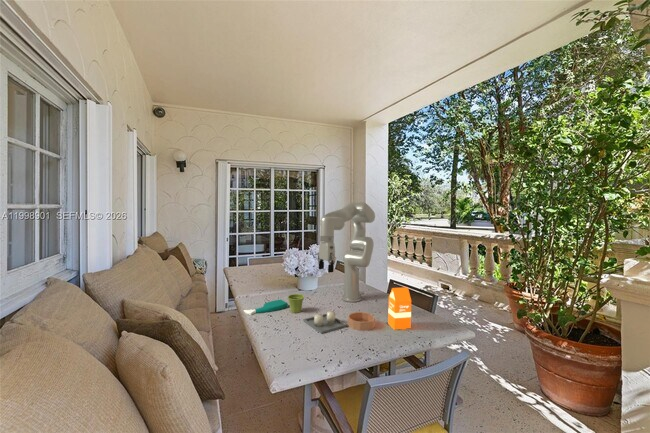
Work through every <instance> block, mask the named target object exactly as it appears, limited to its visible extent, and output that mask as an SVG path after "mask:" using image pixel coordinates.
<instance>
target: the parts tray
mask: <svg viewBox="0 0 650 433" xmlns="http://www.w3.org/2000/svg"><path fill="white" fill-rule="evenodd" d="M322 315H323V326H322V327H316V326H314V316H311V317H307V318H303V320H302V322H304V324H306V325H307V326H310V328H312V329H314V330H315V331H316V332H318V333H319V334H321V335H322V334H326V333H328V332H329V333H330V332H333V331H336V330H340V329H343V328H344V329H345V328H347V327H348V323H346V322H344V321H343V320H340V319H339V318H337V317H335V323H333V324H329V323H327V313H322Z"/></svg>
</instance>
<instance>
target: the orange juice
mask: <svg viewBox="0 0 650 433" xmlns="http://www.w3.org/2000/svg"><path fill="white" fill-rule="evenodd" d="M387 312H388V317H387V318H388V319H387V320H388V321H387V325H389V327H391V328H392V329H393V330H394V331H396V330H395V329H402V330H407V329H406V328H411V326H412V322H411V321H412V298H411V294H410V290H409V287H408V286H405V287H391V291H390V293H389V295H388V310H387Z"/></svg>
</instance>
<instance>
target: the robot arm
mask: <svg viewBox="0 0 650 433" xmlns="http://www.w3.org/2000/svg"><path fill="white" fill-rule="evenodd" d="M375 219H376V214H375V211H374V210H373V208H372V207H370V205H369V204H367V203H366V202H349V203H348V204H346V205H345V206H344V207H342V208H340V209H336V210H333V211H331V212H328V213H326V214H325V215H323V216H322V217H321V218H320V220H319V221H320V222H319V227H320V229H319V231H320V232H319V247H318V253H317V259H318V270H325V261H327V263H328V265H327V272H328V273H334V269H335V268H334V265H335V263H336V259H337V257H336V247H335V243H334V241H335V238H334V237H335V231H340V230H343V228H344V227H345V225H346V224H345V222H349V221H351V225H352V231H351V236H350V240H349V245H348V246H349V248H350V250H348V251H345V252H344V253H343V255H342V256H343V257H342V258H343V259H342V261H343V266H344V282H343V283H344V288H343V289H344V290H343V295H342V296H341V301H345V302H348V303H357V302H360V301H362V297H361V296H363V295H365V291H360V271H359V268H358V267H360V268H367V267H368V266H369V265H370V264H371V260H372V254H373V251H374V244H375V243H374V239H373V238H372V237H371V236H366V228H365V227H364V225H363V224H362V223H364V224H365V223H366V224H367V223H369V224H370V223H373V222H374V221H375Z"/></svg>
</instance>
